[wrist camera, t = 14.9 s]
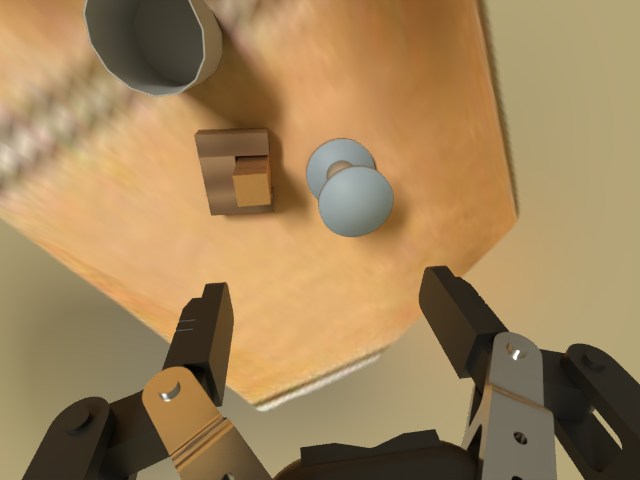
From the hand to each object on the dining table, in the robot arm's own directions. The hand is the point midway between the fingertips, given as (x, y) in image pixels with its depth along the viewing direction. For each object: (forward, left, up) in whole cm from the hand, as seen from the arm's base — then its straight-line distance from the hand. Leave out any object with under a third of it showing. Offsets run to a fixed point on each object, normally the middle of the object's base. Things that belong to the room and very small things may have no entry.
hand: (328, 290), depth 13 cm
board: (+5, -7, -30) cm, 31 cm away
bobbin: (+6, +6, -30) cm, 31 cm away
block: (+5, -5, -30) cm, 31 cm away
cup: (-9, -11, -30) cm, 33 cm away
